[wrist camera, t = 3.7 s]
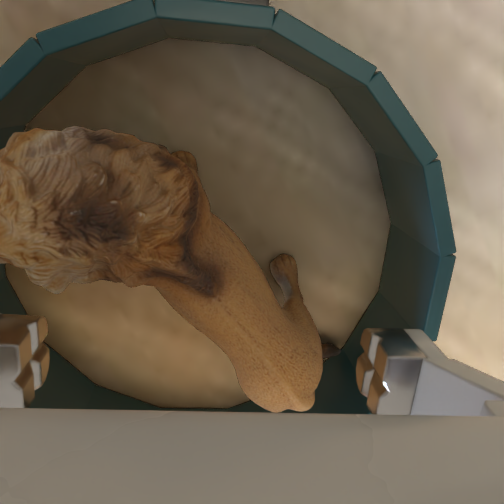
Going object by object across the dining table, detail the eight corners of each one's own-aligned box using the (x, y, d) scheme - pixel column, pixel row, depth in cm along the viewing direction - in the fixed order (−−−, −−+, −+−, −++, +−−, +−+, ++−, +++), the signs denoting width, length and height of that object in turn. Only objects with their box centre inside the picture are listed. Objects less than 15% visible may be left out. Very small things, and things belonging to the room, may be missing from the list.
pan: (7, 444, 22) (-41, 529, 17) (-43, -56, 15) (-139, -115, 11) (361, 445, 24) (395, 522, 19) (446, 1, 17) (524, -30, 13)
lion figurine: (28, 187, 18) (-132, 266, 10) (109, 77, 17) (11, 57, 9) (299, 382, 22) (357, 561, 14) (377, 303, 21) (492, 442, 13)
